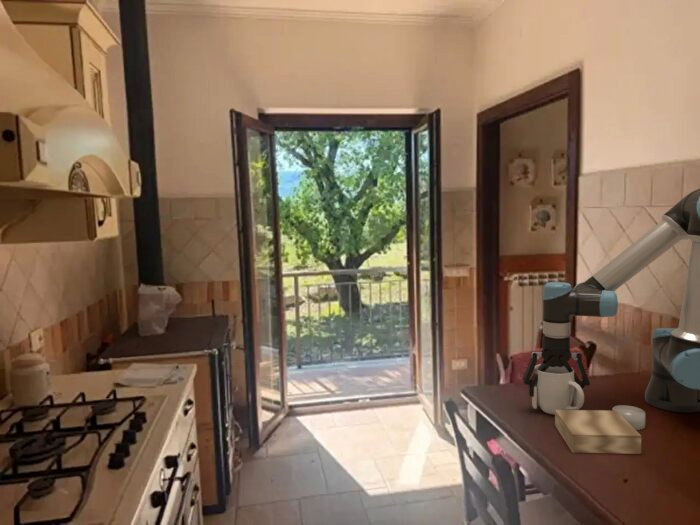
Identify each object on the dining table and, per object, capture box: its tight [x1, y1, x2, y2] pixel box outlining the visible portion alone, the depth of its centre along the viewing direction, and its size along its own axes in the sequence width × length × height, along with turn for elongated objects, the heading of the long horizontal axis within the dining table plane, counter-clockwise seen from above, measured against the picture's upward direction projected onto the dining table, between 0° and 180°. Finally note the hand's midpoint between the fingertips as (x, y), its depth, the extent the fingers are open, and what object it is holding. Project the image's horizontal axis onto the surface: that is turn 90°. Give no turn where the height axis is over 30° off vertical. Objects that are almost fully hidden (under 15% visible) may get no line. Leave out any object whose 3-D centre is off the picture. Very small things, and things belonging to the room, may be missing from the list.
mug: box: [534, 363, 585, 416], centre depth 151 cm, size 15×11×13 cm
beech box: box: [554, 409, 642, 455], centre depth 134 cm, size 16×16×5 cm
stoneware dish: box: [611, 404, 646, 431], centre depth 142 cm, size 8×8×4 cm
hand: (555, 407), depth 153 cm, fingers closed on mug, 11 cm apart
